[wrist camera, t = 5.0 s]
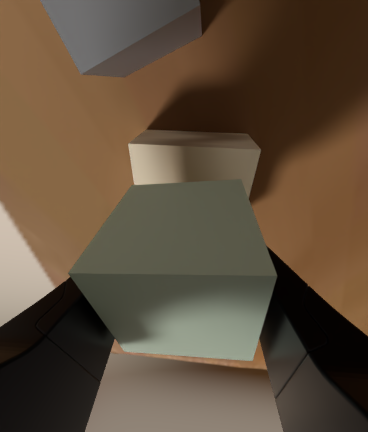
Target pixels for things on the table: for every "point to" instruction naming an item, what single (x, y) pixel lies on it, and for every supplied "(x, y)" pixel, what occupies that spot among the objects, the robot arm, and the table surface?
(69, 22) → the grey block
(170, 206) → the sage block
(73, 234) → the table surface
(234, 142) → the birch slab
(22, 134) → the table surface
